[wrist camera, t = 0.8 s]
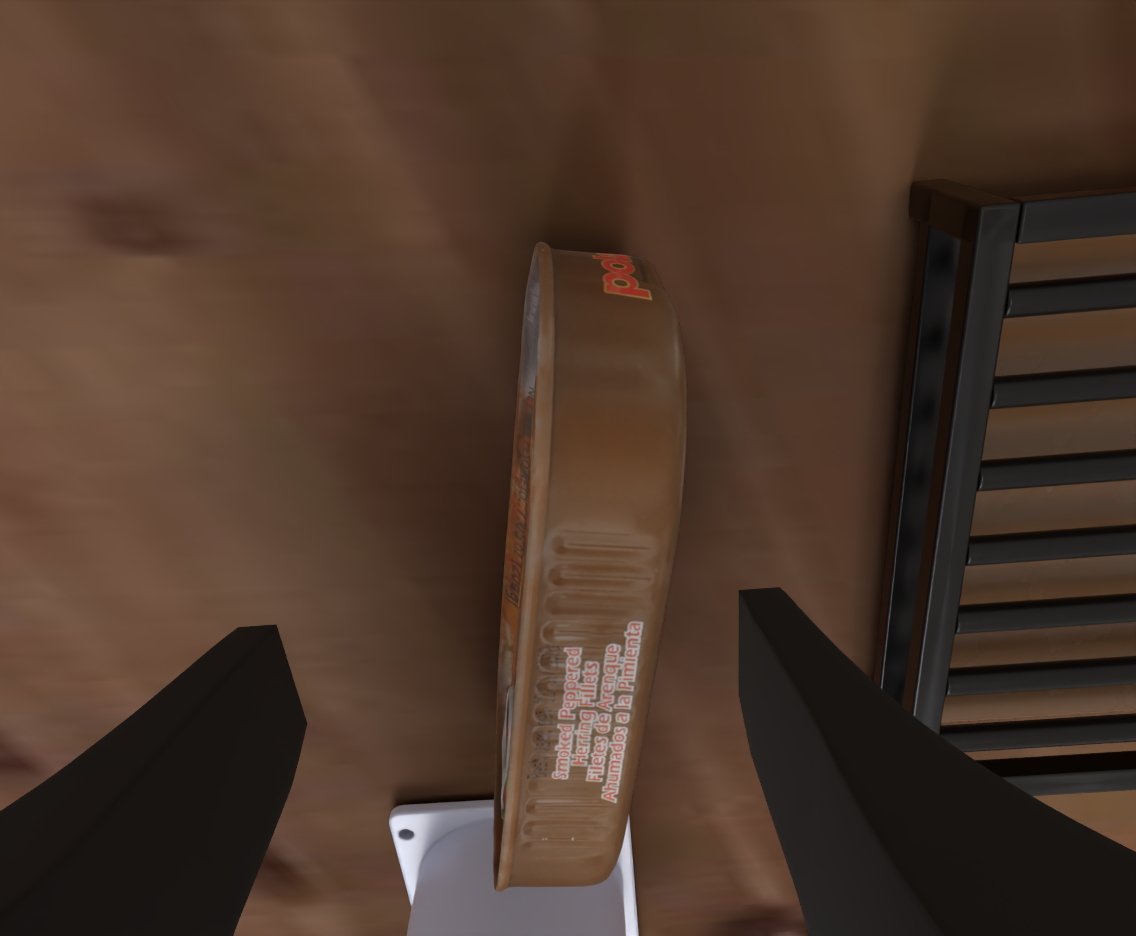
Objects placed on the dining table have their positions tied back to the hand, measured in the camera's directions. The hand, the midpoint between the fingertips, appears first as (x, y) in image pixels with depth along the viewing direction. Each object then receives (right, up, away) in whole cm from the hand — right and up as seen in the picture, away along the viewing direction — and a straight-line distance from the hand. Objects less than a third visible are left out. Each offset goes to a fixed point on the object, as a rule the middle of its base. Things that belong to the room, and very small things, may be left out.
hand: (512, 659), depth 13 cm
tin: (+1, +2, +10) cm, 10 cm away
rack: (+14, +3, +9) cm, 17 cm away
